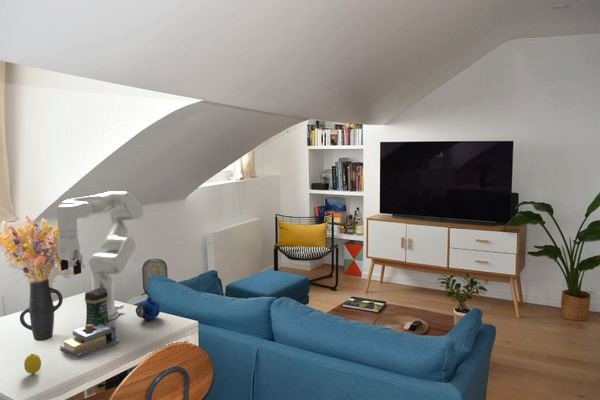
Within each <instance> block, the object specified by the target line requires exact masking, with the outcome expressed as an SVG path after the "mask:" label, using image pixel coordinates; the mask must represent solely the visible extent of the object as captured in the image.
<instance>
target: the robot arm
mask: <svg viewBox="0 0 600 400" xmlns="http://www.w3.org/2000/svg"><path fill="white" fill-rule="evenodd" d="M106 211H109V217H110V222H111V224H110V225H111V227H110V229H109V232H108V233H107V234H106V236H105V238H104V240H103V241H102V243H101V247H100V248H101V251H102V252H95V253H93V254H92V255H91V256H90V257H89V259H88V269H89V272H90V277H91V284H92V286H91V289H92V290H95V289H98V288H104V289H106V290H107V295H108V298H107V313H108V320H109V321H111V320H113V319H116V318H118V316H119V310H121V309H124V308H125V306H124V304H115V291H114V288H115V287H114V279H113V276H112V275H120V274H123V273H124V272H125V271H126V269H127V267H128V265H129V263H130V261H131V260H132V258H133V256H134V253H135V251H136V241H135V239H134V238H132V237H131V236H128V234H129V229H128V227H127V225H126V223H125V222H126V221H130V222H139V221H140V220H142V218H143V217H144V209H143V205H141V204H140V202H139V201H138V200H137V198H136V197H135V196H134V195H133V194H131V193H130V192H129V191H121V190H118V191H117V190H113V191H111V190H110V191H107V192H103V193H98V194H94V195H88V196H87V195H86V196H82V197H80V196H79V197H75V198H70V199H66V200H63V201H61V202H60V203H59V204H58V206H57V207H56V210H55V212H56V221H57V233H58V237H57V250H58V252H57V256H58V259H59V263H60V270H61V271H65V270H69V262H72V264H73V265H72V266H73V275H79V274H81V273H82V262H83V257H84V256H83V255H82V253H81V249H80V241H79V238H78V236H79V233H78V232H79V231H78V220H84V219H87V218H89V217H91V215H92V214H100V213H103V212H106ZM92 290H91V291H92Z"/></svg>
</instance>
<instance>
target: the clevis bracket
mask: <svg viewBox="0 0 600 400" xmlns="http://www.w3.org/2000/svg"><path fill="white" fill-rule="evenodd" d="M92 325H93V331H92V332H89V333H85V326H83V327H82V326H81V327H79V328H76V329H74V330H72V336H74V337H71V338H69V339H67V340H64V341H63V344H61V345H60V346H59V347H60V350H61V351H64V352H66V354H67V353H68V354H69V355H71V356H73V357H75V358H77V359H81V358H83V357H86V356H89V355H91V354H94V353H97V352H100V351H102V350H106V349H107V348H111V347H112V346H114V345H117V344H119V343H120V342H119V341H120V339H117V332H116V326H115V325H113V324H110V323H109V324H108V323H106V322H104V321H100V322H97V323H94V324H92Z"/></svg>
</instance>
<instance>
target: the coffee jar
mask: <svg viewBox="0 0 600 400" xmlns="http://www.w3.org/2000/svg"><path fill="white" fill-rule="evenodd" d="M107 298H108V295H107V290H106V289H104V288H98V289H95V290H90V291H86V293H85V295H84V302H85V307H86V316H85V317H86V318H85V319H86V321H85V326H86V325H88V324H94V323H97V322H100V321H104V322H106V323H108V324H110V323H109V321H110V320H108V313H107Z"/></svg>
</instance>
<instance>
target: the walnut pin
mask: <svg viewBox="0 0 600 400" xmlns="http://www.w3.org/2000/svg"><path fill="white" fill-rule="evenodd" d="M84 327H85V333H89V332H92V331H93V325H92V324H88V325H86V324H85V325H84Z"/></svg>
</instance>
